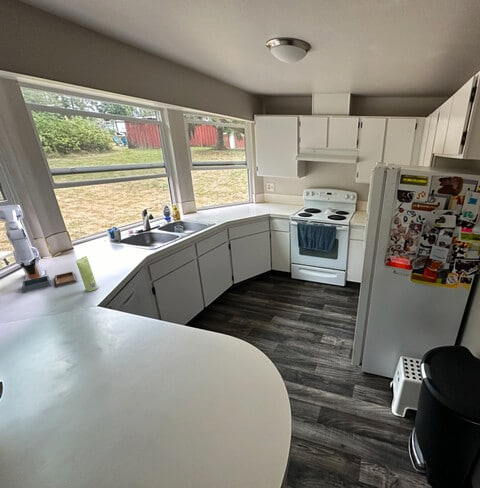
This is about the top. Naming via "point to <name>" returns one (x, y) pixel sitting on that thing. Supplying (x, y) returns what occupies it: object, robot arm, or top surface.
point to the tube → (86, 274)
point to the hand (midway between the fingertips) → (32, 272)
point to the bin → (36, 283)
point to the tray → (65, 279)
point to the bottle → (33, 274)
